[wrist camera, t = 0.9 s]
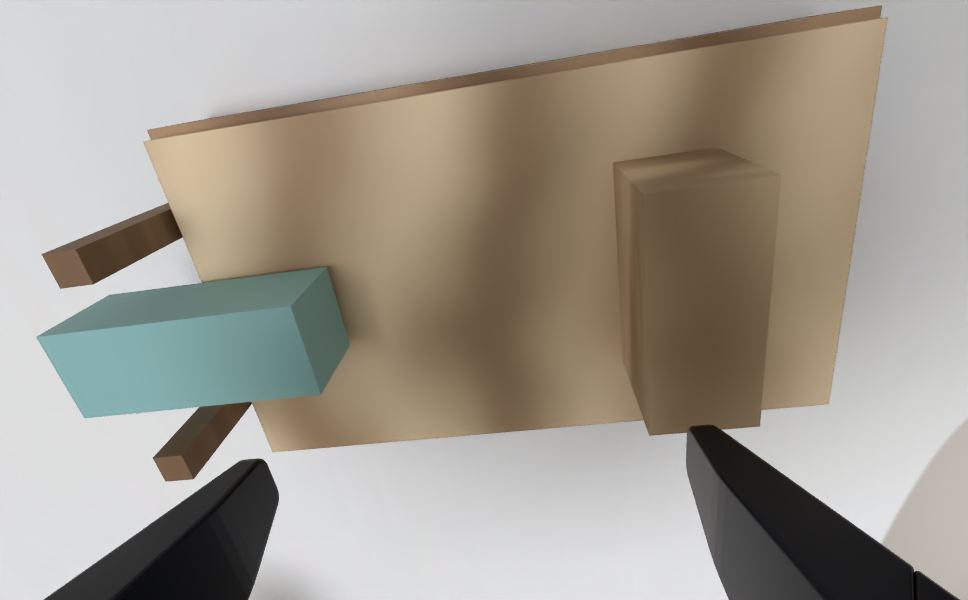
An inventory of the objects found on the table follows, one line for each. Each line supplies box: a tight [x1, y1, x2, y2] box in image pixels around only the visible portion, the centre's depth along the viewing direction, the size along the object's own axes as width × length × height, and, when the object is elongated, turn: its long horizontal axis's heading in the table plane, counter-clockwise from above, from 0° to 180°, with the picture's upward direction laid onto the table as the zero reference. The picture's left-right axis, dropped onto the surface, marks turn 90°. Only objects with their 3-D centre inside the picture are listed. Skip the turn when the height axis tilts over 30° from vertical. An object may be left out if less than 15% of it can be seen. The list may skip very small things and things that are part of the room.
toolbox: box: [42, 6, 882, 481], centre depth 17 cm, size 23×13×8 cm, turn 99°
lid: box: [143, 18, 887, 452], centre depth 16 cm, size 21×12×6 cm, turn 99°
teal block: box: [37, 267, 350, 418], centre depth 17 cm, size 8×3×3 cm, turn 99°
